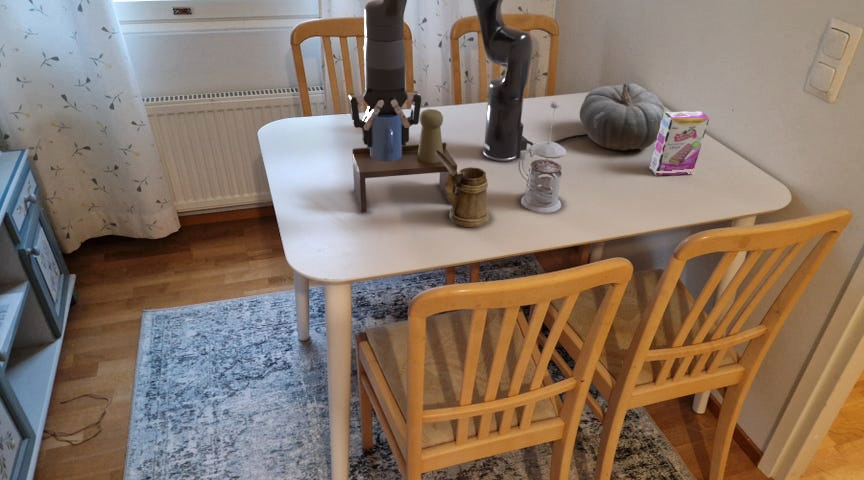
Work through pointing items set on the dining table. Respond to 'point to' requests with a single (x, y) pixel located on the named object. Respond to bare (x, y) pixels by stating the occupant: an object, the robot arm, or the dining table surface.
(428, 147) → the olive green peg figure
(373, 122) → the cup
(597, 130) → the gourd
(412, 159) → the brown wooden shelf
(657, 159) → the candy bar box
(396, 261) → the dining table surface
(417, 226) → the dining table surface
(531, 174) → the french press
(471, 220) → the wooden mug
